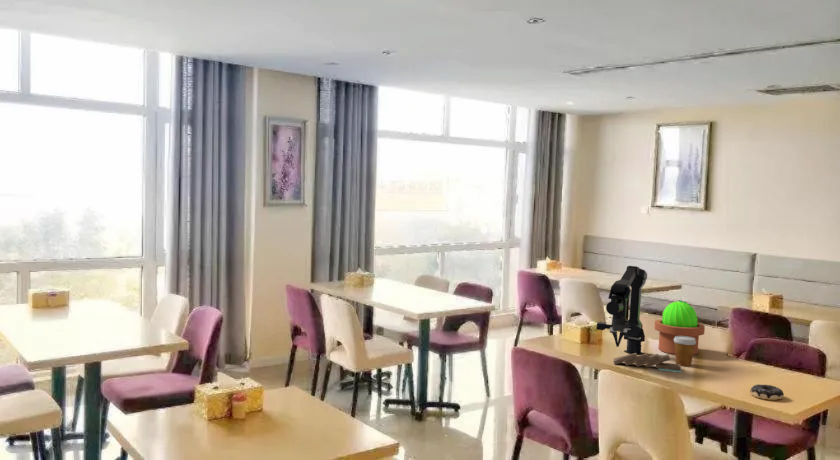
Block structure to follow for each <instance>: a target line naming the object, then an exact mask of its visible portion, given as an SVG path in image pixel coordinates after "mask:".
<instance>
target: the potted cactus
mask: <svg viewBox="0 0 840 460" xmlns="http://www.w3.org/2000/svg"><path fill="white" fill-rule="evenodd" d="M661 312H662V311H661ZM696 312H697V311H696V310H695V308H694V307H693V306H692V305H691V304H689V303H688V302H687V301H685V300H684V301H683V300H676V301H673V302H670V303H668V305H666V307H665V309H664V310H663V312H662V313H661V314H662V316H661V319H656V320H654V330H655V331H657V332H659V333H658V334H659V335H658V337H659V338H658V350H659V351H661V352H662V353H666V354H669V355H675V342H674V338H675V336H688V337H692V338H695V340H696V344H695V347H694V352H693V356H694V355H697V354H698V353H699V339H700V338H699V336H704V335H705V325H704V324H703V323H699V322H698V319H699V316H698V315H697V313H696Z"/></svg>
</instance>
